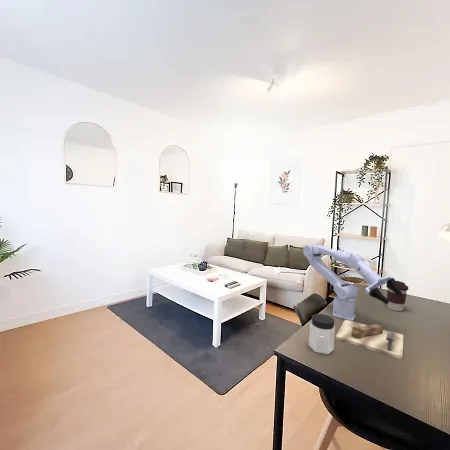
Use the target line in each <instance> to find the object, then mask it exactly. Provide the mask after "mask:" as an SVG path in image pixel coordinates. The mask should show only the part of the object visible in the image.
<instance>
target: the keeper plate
mask: <svg viewBox="0 0 450 450" xmlns="http://www.w3.org/2000/svg"><path fill="white" fill-rule="evenodd" d="M362 326H368V325H367V324H363V323H360V322H357V321H354V320H353V321H351V320H347V319H344V321H343V322H342V325H341V326H340V327H339V330H338V331H337V332H336V335H335V340H338V341H341V342H345V343H348V344H349V345H350V344H351V345H354V346H356V347H357V346H358V347H360V348H363V349H367V350H369V351H374V352H376V353H379V354H383V355H386V356H390V357H393V358H395V359H399V360H403V356H404V355H403V353H404V352H403V351H404V334H402V333H398V332H393V331H390V330H386V329H383V333H381V334H375V335H370V336H365V337H361V338H355V337H353V336H352V327H354V329H356V330H360V329H361V327H362Z"/></svg>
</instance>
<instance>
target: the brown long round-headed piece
mask: <svg viewBox="0 0 450 450" xmlns="http://www.w3.org/2000/svg"><path fill="white" fill-rule="evenodd" d="M383 330H384V325H382V324H380V323H375V324H369V325H368V326H362V327H361V329H360V330H356V329H354V327H352V336H353V337H355V338H361V337H365V336H370V335H375V334H381V333H383Z"/></svg>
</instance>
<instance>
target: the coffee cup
mask: <svg viewBox="0 0 450 450" xmlns="http://www.w3.org/2000/svg"><path fill="white" fill-rule="evenodd" d="M395 282H396V284H397V286H398V288H399V289H400V291H401V292H402V293H403V294H402V296H400V297H399V296H398V295H397V294H396V293H395V292H393V291H392V290H391V289H389V288H387V290H386V298H387V299H388V301H389V303H388V304H386V306H387V308H388V309H389V310H391V311H395V312H403V311H404V307H405V303H406V298H407V295H408V294H407V291H409V286H408V285H406V283H405V282H403V281H400V280H395Z"/></svg>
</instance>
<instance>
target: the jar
mask: <svg viewBox="0 0 450 450" xmlns="http://www.w3.org/2000/svg"><path fill="white" fill-rule="evenodd" d="M335 332H336V326H335V319H334V318H333V317H332V316H330V315H328V314H324V313H315V314H312V316H311V322H310V323H309V336H308V337H309V338H308V346H309V348H311V349H312V350H313V351H314V352H315V353H318V354H319V353H320V354H324V355H329V354H330V353H331V352H333V351H334V345H335V336H336V335H335V334H336V333H335Z"/></svg>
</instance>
